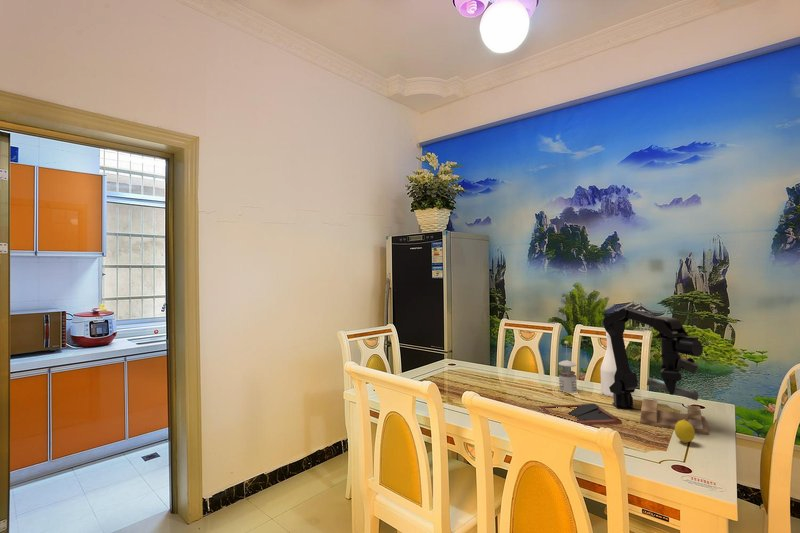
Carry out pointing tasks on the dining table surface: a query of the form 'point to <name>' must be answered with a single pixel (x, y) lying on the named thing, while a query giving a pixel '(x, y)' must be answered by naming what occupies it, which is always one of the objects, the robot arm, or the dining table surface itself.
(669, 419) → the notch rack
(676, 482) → the dining table surface
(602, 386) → the wine bottle
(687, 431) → the lemon
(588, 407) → the picture frame
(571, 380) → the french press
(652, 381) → the picture frame
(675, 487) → the dining table surface
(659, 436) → the dining table surface
